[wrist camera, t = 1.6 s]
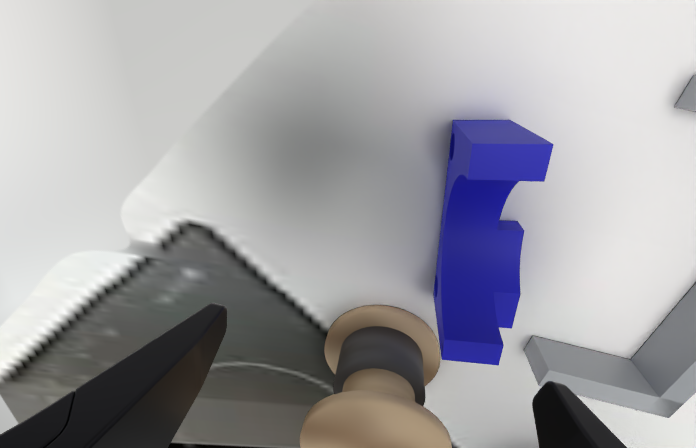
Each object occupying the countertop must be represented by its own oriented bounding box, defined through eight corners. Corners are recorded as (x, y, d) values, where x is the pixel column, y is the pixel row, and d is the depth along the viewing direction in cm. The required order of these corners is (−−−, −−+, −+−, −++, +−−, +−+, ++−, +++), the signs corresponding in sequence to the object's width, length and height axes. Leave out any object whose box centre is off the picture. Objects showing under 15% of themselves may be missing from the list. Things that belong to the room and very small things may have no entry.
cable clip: (499, 297, 23) (527, 368, 18) (433, 292, 24) (441, 359, 18) (538, 119, 18) (596, 144, 13) (452, 119, 19) (472, 143, 13)
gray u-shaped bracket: (639, 378, 24) (668, 417, 22) (523, 349, 25) (538, 385, 22) (878, 113, 16) (977, 124, 13) (693, 74, 16) (752, 78, 13)
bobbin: (420, 398, 29) (426, 510, 21) (319, 372, 29) (292, 474, 22) (455, 322, 24) (477, 429, 17) (336, 292, 25) (310, 386, 18)
